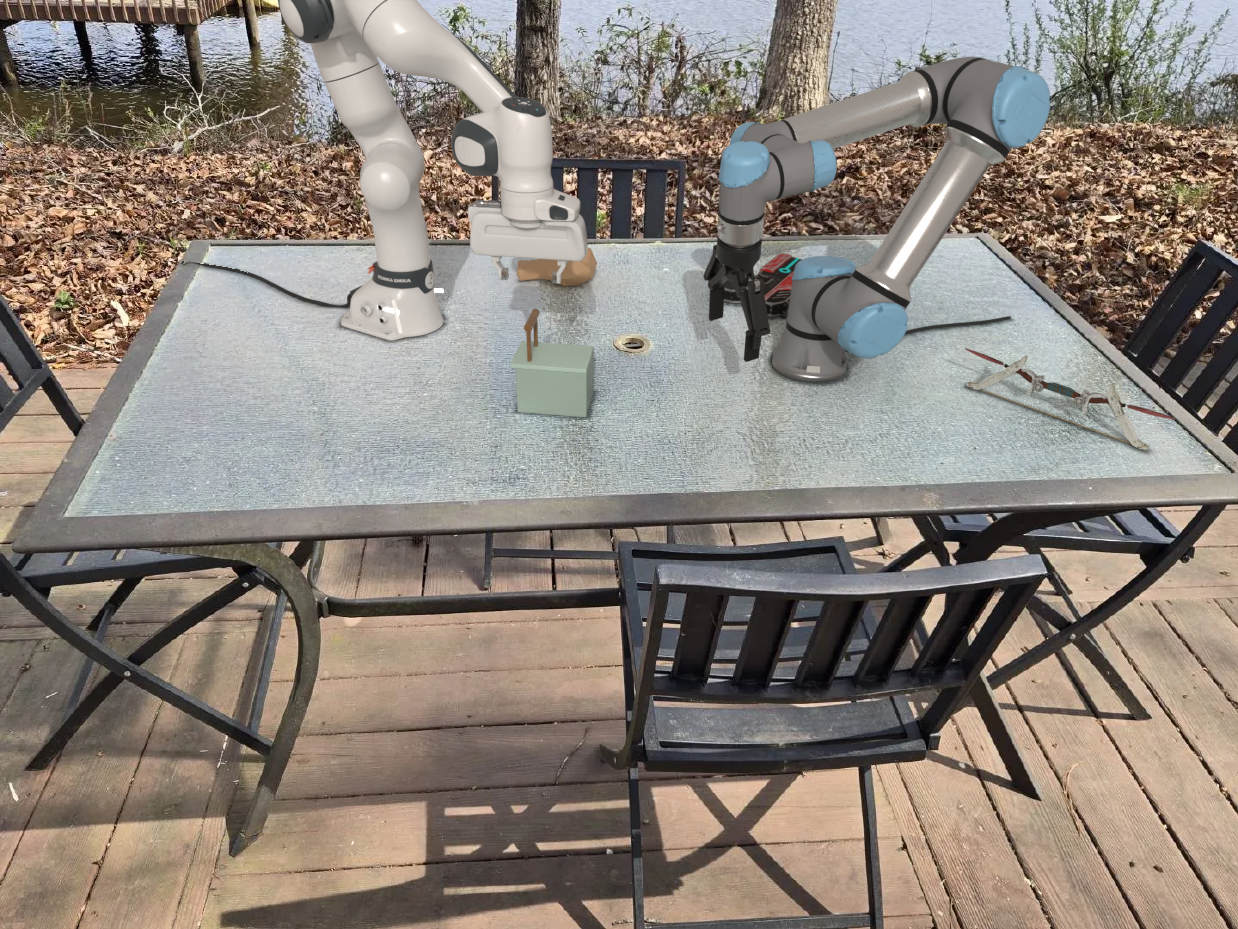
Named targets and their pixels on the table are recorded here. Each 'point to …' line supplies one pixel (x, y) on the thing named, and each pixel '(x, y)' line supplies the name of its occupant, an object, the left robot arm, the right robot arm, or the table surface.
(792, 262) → the gun
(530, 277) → the squash
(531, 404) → the chest
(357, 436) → the table surface
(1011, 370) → the bow
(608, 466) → the table surface
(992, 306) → the table surface
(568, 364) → the lid
